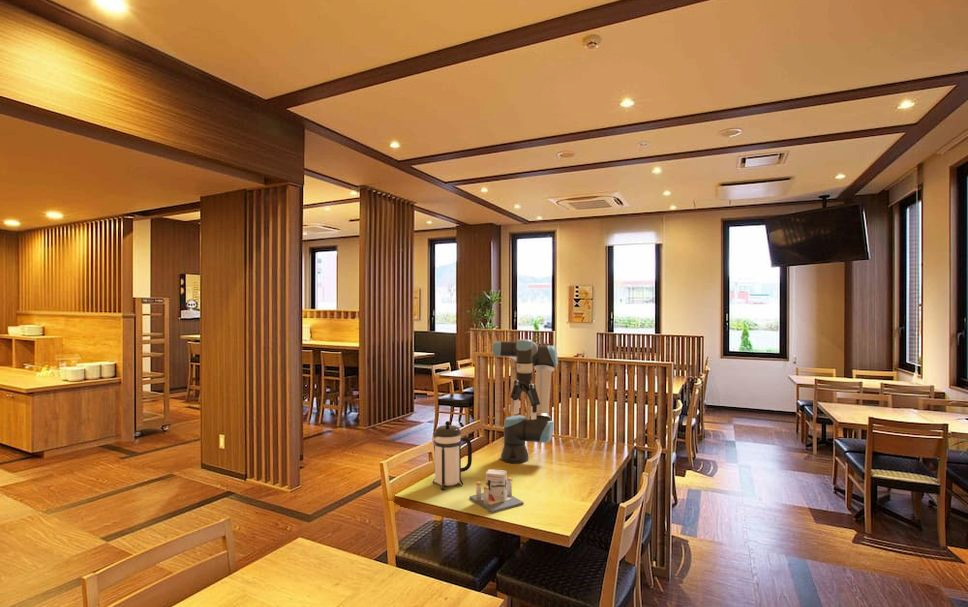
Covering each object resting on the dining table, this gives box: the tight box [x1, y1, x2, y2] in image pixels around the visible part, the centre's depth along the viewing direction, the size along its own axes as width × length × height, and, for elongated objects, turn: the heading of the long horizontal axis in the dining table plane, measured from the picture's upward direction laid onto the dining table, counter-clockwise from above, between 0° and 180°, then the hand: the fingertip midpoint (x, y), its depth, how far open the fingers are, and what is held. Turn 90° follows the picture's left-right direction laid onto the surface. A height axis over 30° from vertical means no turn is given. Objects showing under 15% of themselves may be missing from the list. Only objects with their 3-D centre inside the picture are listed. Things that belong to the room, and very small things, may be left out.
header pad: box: [469, 476, 525, 514], centre depth 210 cm, size 18×16×9 cm
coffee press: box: [432, 420, 473, 491], centre depth 231 cm, size 17×16×30 cm
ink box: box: [485, 468, 508, 502], centre depth 210 cm, size 8×5×12 cm, turn 74°
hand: (524, 416), depth 233 cm, fingers open, 13 cm apart
